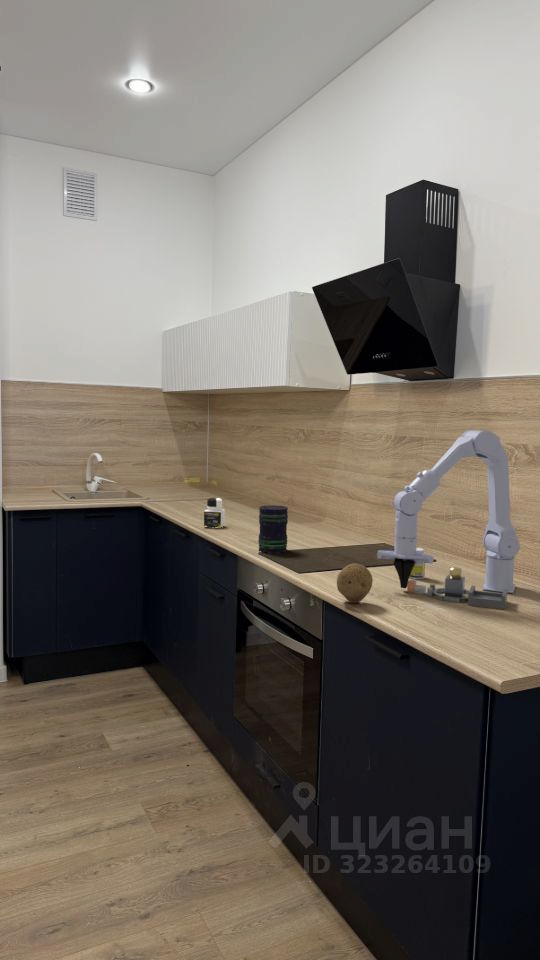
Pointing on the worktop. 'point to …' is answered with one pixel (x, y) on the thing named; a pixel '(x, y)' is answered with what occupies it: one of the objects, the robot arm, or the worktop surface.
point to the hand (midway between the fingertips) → (403, 587)
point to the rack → (487, 598)
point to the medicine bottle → (214, 513)
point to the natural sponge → (354, 582)
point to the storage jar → (273, 529)
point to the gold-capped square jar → (454, 583)
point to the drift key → (415, 587)
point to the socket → (434, 593)
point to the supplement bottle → (418, 568)
